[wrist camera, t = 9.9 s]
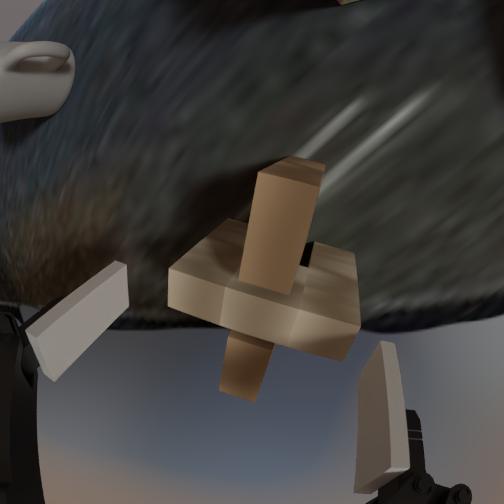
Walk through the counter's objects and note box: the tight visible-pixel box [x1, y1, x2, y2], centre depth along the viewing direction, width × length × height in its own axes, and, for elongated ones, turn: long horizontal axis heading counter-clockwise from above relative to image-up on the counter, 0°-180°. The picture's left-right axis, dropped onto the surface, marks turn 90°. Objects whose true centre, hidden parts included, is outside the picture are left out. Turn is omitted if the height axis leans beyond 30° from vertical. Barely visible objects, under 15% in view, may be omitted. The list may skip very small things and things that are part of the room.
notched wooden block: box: [219, 156, 326, 402], centre depth 18 cm, size 2×14×9 cm, turn 170°
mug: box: [0, 41, 75, 123], centre depth 16 cm, size 12×8×11 cm
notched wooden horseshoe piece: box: [168, 218, 361, 361], centre depth 18 cm, size 10×2×9 cm, turn 79°
